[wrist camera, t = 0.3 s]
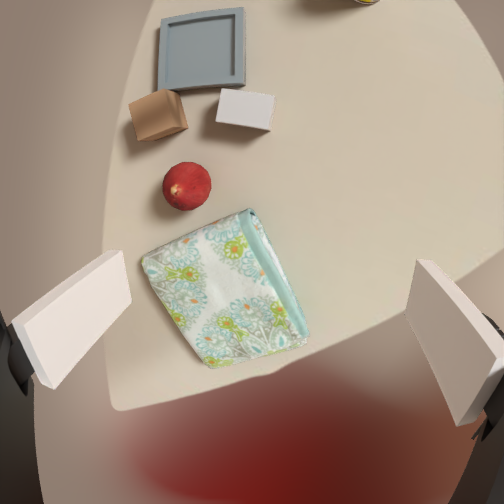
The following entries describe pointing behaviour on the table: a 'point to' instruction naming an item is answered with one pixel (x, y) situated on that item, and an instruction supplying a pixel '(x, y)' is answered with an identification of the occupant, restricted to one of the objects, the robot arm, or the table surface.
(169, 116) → the walnut cube
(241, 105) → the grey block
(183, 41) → the dish
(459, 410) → the robot arm
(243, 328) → the towel
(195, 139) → the table surface
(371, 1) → the supplement bottle
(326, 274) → the table surface
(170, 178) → the onion
